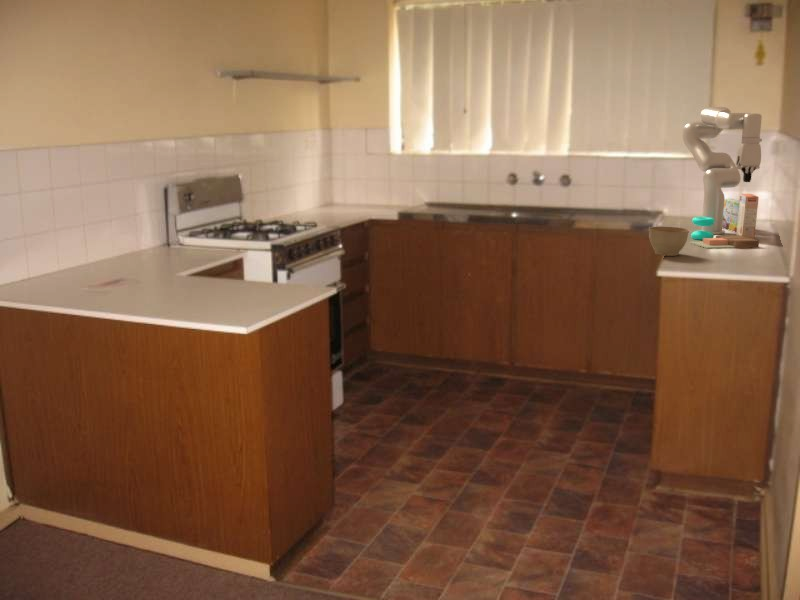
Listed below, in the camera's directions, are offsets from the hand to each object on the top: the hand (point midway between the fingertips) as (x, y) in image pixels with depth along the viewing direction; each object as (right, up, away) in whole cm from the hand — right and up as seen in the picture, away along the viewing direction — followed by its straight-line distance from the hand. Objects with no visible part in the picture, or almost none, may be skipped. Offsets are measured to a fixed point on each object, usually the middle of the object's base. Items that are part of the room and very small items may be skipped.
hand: (746, 181), depth 385 cm
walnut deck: (-8, -29, -7) cm, 31 cm away
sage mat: (-19, -30, -9) cm, 37 cm away
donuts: (-17, -26, +11) cm, 32 cm away
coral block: (-18, -28, -8) cm, 34 cm away
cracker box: (+3, -26, +8) cm, 28 cm away
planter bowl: (-47, -35, -31) cm, 66 cm away
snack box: (+9, -20, +37) cm, 43 cm away
